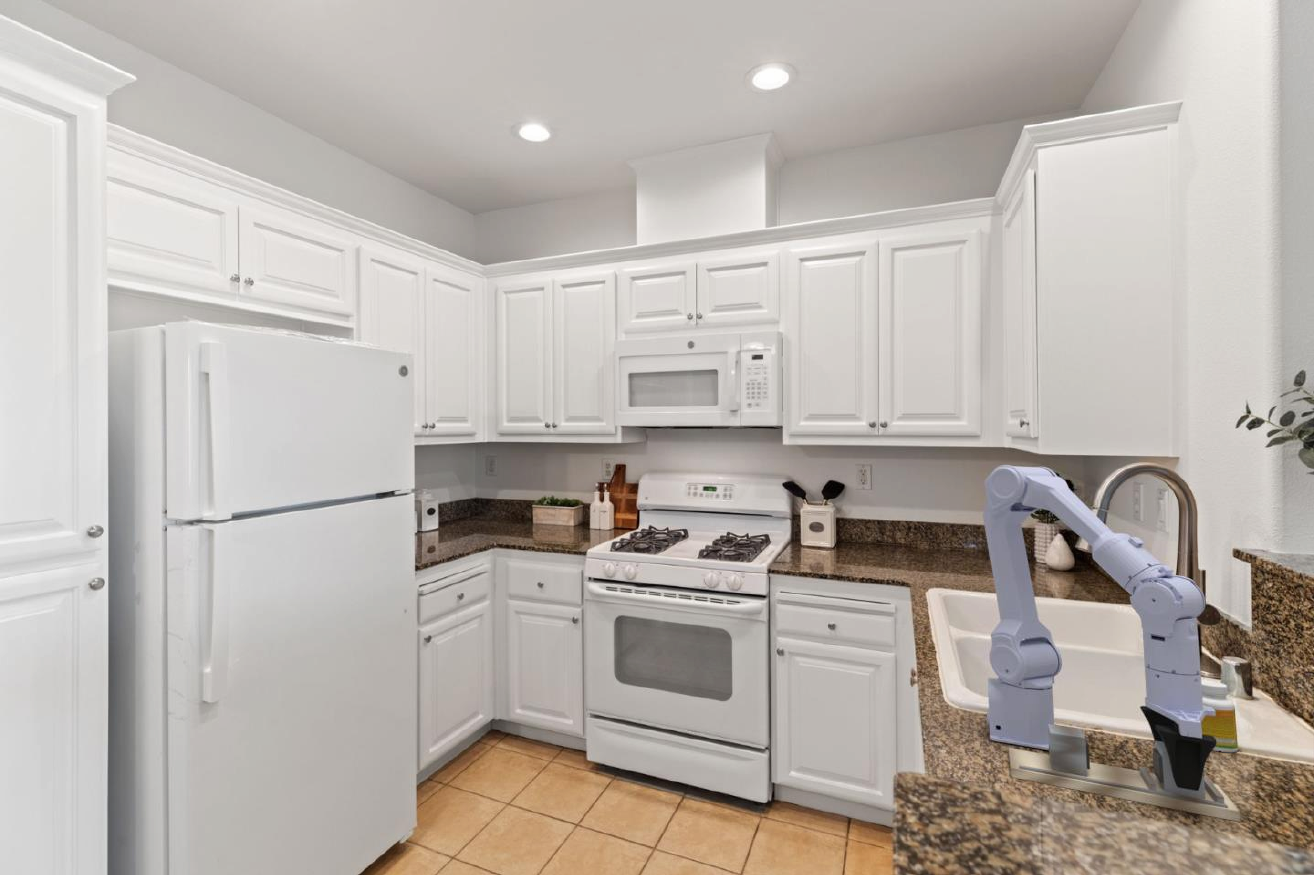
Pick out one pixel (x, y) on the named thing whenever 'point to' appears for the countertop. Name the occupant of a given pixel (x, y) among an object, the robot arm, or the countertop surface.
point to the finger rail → (1109, 776)
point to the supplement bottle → (1219, 716)
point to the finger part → (1165, 773)
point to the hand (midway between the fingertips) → (1178, 776)
